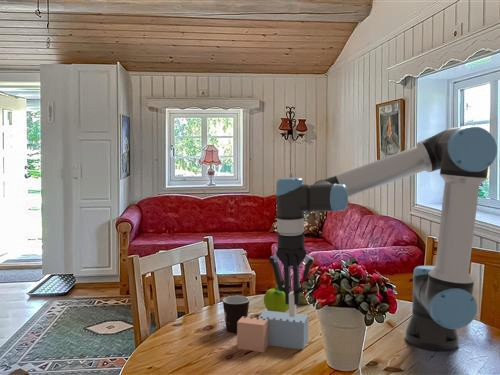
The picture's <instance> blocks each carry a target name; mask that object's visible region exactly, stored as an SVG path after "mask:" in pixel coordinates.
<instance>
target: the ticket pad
mask: <svg viewBox="0 0 500 375" xmlns="http://www.w3.org/2000/svg"><path fill="white" fill-rule="evenodd" d="M257 318H262V319H268V346H274V347H281V348H288V349H295V350H304V349H305V348H306V346H307V344H308V342H309V314H303V313H302V314H301V313H296V315H295V317H289V312H275V311H268V310H267V309H265V310H263V311H262V313H260V315H259V316H258V317H257Z"/></svg>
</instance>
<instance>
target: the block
mask: <svg viewBox="0 0 500 375" xmlns="http://www.w3.org/2000/svg"><path fill="white" fill-rule="evenodd" d="M236 335H237V337H236V348H237V349H238V350H246V351H252V352H253V351H254V352H259V353H260V352H261V353H264V352H265V351H266V349H267V347H268V346H269V345H268V319H262V318H258V317H252V316H248V317H246V316H242V318H241V319H240V320H239V321H238V322H237V334H236Z"/></svg>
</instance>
